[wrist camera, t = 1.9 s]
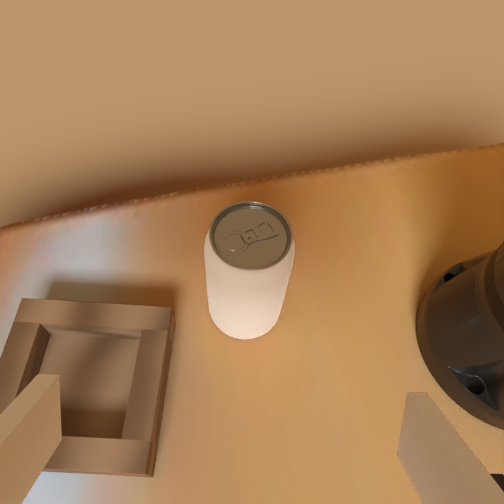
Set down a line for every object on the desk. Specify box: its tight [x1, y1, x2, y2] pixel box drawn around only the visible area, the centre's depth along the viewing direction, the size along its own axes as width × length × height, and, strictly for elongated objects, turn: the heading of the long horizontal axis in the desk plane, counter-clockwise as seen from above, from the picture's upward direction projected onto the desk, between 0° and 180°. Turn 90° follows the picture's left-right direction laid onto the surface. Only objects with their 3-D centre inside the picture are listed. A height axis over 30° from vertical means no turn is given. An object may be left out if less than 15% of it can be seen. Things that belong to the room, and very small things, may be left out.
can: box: [204, 201, 295, 339], centre depth 34 cm, size 6×6×12 cm
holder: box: [0, 298, 176, 477], centre depth 33 cm, size 12×12×4 cm
